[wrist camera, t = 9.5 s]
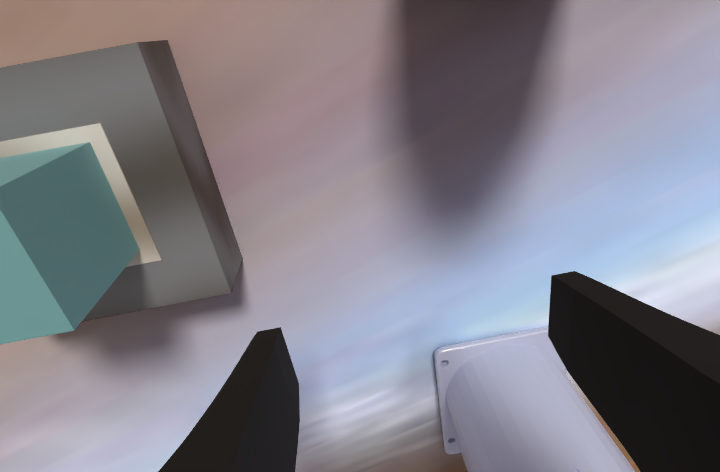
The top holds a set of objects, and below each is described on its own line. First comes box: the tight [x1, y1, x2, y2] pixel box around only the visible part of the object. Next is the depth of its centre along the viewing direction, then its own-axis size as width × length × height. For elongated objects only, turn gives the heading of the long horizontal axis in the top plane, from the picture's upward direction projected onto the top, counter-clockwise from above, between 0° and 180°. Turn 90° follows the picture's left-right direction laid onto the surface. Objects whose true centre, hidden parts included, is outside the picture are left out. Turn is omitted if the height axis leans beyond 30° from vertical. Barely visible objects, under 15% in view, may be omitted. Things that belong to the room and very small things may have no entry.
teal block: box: [0, 142, 140, 344], centre depth 13 cm, size 4×4×5 cm
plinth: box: [0, 40, 242, 321], centre depth 17 cm, size 10×10×3 cm
